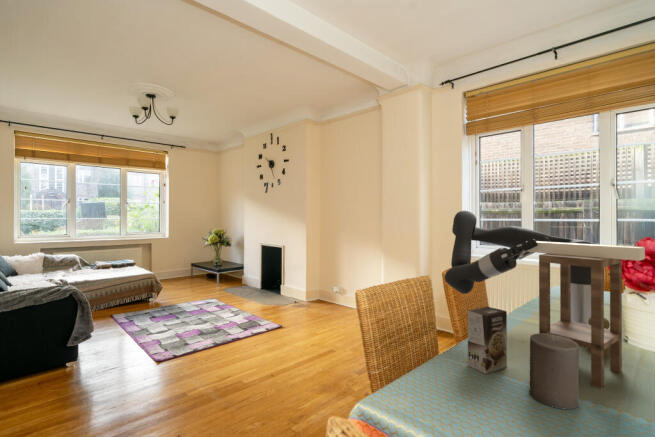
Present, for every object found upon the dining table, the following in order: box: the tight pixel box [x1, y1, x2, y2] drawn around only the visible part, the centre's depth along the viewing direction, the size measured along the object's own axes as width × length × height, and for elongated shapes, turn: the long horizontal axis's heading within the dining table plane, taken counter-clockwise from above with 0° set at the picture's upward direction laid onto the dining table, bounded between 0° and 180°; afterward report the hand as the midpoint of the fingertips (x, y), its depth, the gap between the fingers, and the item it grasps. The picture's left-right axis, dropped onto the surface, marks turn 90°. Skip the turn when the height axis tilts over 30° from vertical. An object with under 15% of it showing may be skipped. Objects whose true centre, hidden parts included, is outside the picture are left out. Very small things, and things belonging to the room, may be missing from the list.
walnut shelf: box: [538, 253, 623, 390], centre depth 92 cm, size 16×14×32 cm
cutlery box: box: [526, 241, 646, 262], centre depth 92 cm, size 4×26×3 cm, turn 34°
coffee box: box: [467, 306, 508, 375], centre depth 95 cm, size 9×6×16 cm
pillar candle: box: [528, 333, 580, 410], centre depth 78 cm, size 10×10×15 cm
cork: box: [586, 317, 610, 358], centre depth 103 cm, size 6×6×11 cm
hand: (542, 241), depth 100 cm, fingers open, 8 cm apart
